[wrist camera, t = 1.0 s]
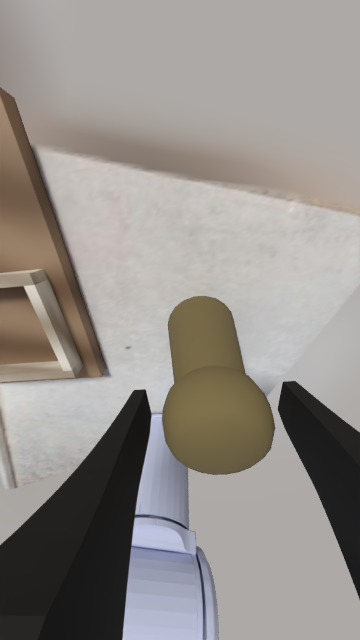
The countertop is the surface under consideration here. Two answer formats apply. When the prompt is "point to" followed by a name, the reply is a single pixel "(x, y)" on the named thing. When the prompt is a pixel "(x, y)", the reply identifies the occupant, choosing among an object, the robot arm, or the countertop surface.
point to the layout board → (36, 273)
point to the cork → (213, 393)
